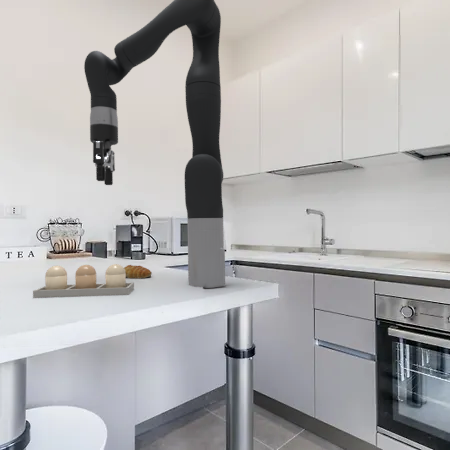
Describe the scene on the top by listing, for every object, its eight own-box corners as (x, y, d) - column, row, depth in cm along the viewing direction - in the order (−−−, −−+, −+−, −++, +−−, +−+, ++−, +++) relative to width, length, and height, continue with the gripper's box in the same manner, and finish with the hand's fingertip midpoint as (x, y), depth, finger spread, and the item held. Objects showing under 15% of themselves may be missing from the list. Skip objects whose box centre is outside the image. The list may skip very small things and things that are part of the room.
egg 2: (98, 291, 80) (98, 263, 81) (93, 294, 76) (93, 265, 76) (78, 291, 80) (78, 264, 80) (72, 295, 75) (72, 265, 76)
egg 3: (127, 290, 81) (127, 262, 81) (123, 293, 77) (123, 264, 77) (108, 290, 81) (107, 263, 81) (103, 294, 76) (103, 265, 76)
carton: (134, 291, 82) (134, 282, 82) (128, 296, 75) (128, 287, 75) (47, 293, 81) (46, 285, 81) (33, 300, 74) (33, 290, 74)
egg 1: (70, 291, 80) (69, 264, 80) (63, 295, 75) (62, 266, 76) (50, 292, 79) (49, 264, 79) (42, 296, 75) (41, 267, 75)
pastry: (157, 277, 107) (156, 264, 107) (141, 280, 101) (141, 267, 101) (134, 275, 112) (134, 263, 112) (118, 278, 106) (118, 266, 106)
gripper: (111, 118, 91) (112, 179, 91) (122, 133, 106) (123, 186, 106) (82, 118, 91) (83, 179, 91) (97, 133, 105) (98, 186, 105)
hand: (104, 183), depth 98 cm, fingers open, 8 cm apart
